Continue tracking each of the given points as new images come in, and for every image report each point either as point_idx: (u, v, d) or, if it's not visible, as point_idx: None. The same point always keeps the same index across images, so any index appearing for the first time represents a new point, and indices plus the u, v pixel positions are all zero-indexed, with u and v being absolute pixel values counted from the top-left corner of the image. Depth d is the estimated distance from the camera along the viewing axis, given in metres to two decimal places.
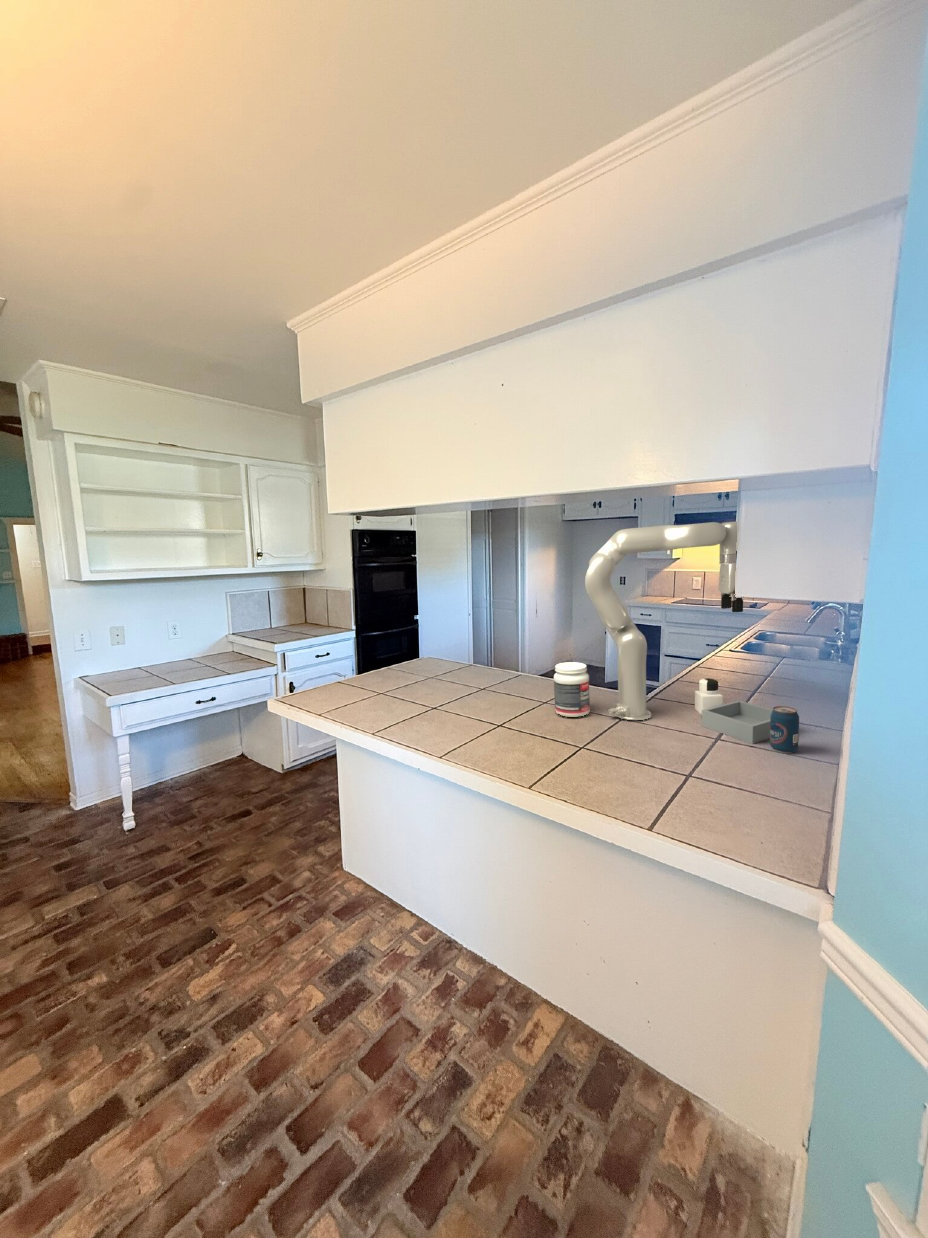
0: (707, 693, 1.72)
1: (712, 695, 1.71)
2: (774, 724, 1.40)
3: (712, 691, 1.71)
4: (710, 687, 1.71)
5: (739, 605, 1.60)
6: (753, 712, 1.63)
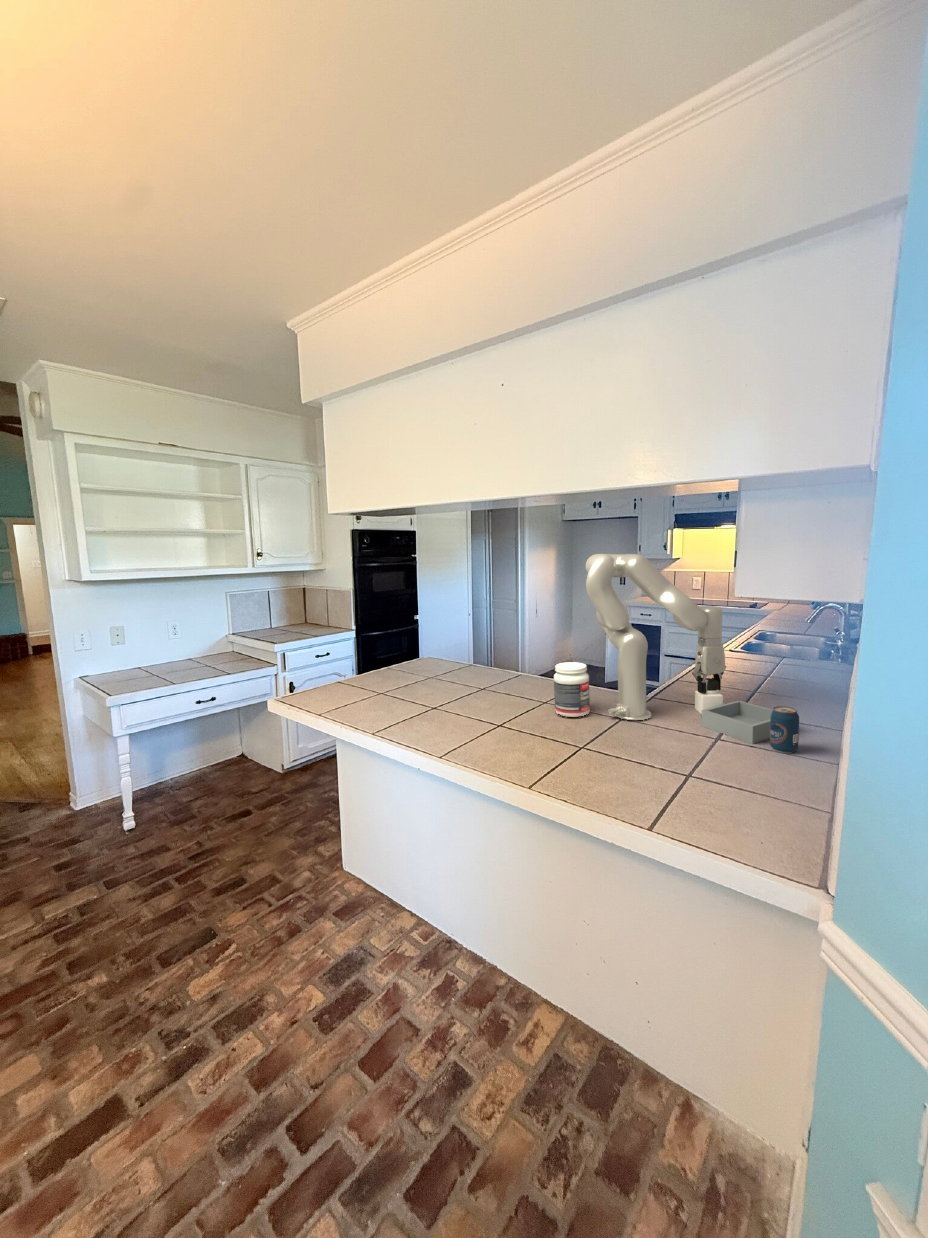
0: (707, 693, 1.72)
1: (712, 695, 1.71)
2: (774, 724, 1.40)
3: (712, 691, 1.71)
4: (711, 687, 1.71)
5: None
6: (753, 712, 1.63)
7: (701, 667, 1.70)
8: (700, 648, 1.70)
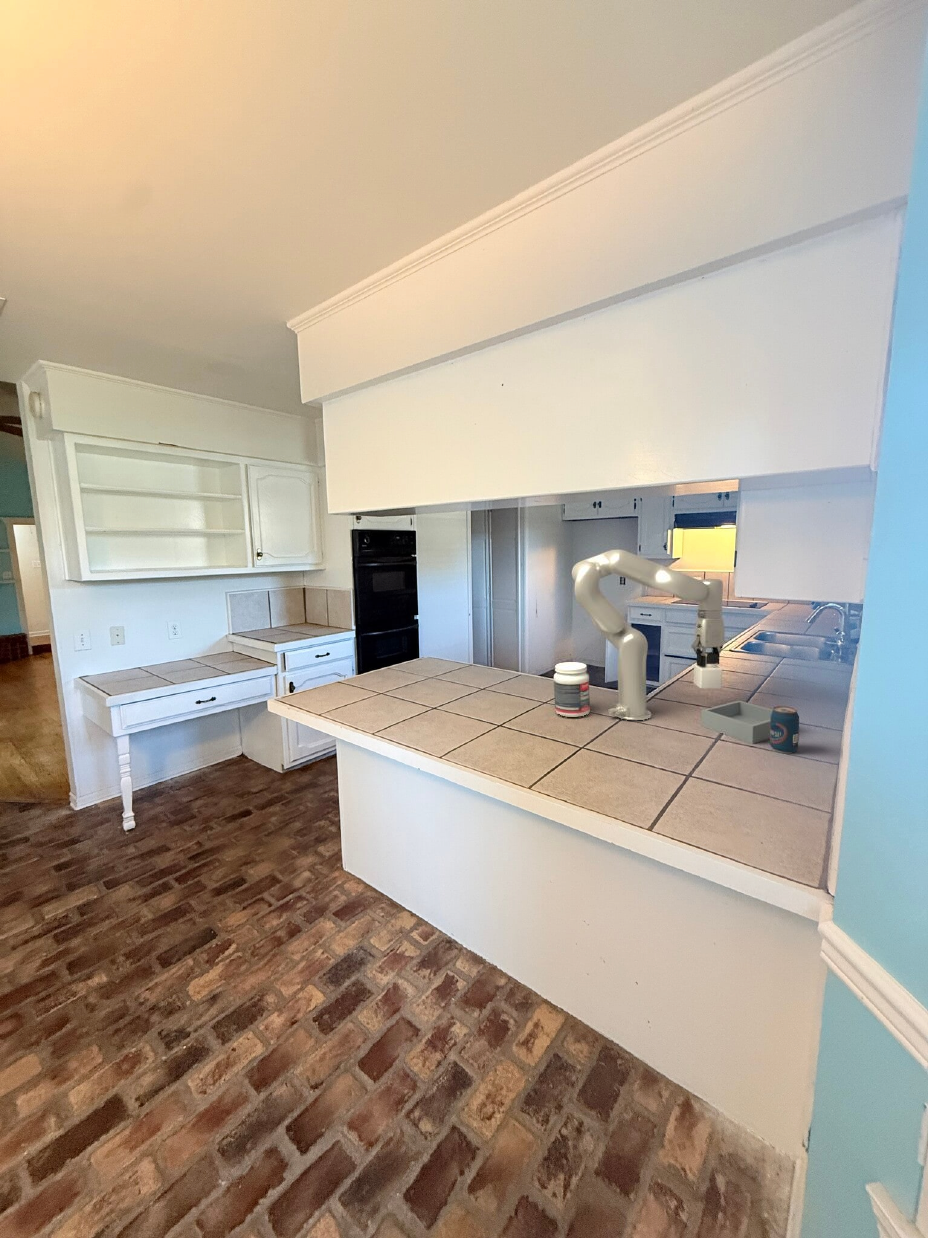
0: (706, 666, 1.71)
1: (711, 668, 1.70)
2: (774, 724, 1.40)
3: (711, 664, 1.70)
4: (710, 660, 1.70)
5: None
6: (753, 712, 1.63)
7: (700, 640, 1.69)
8: (700, 620, 1.69)
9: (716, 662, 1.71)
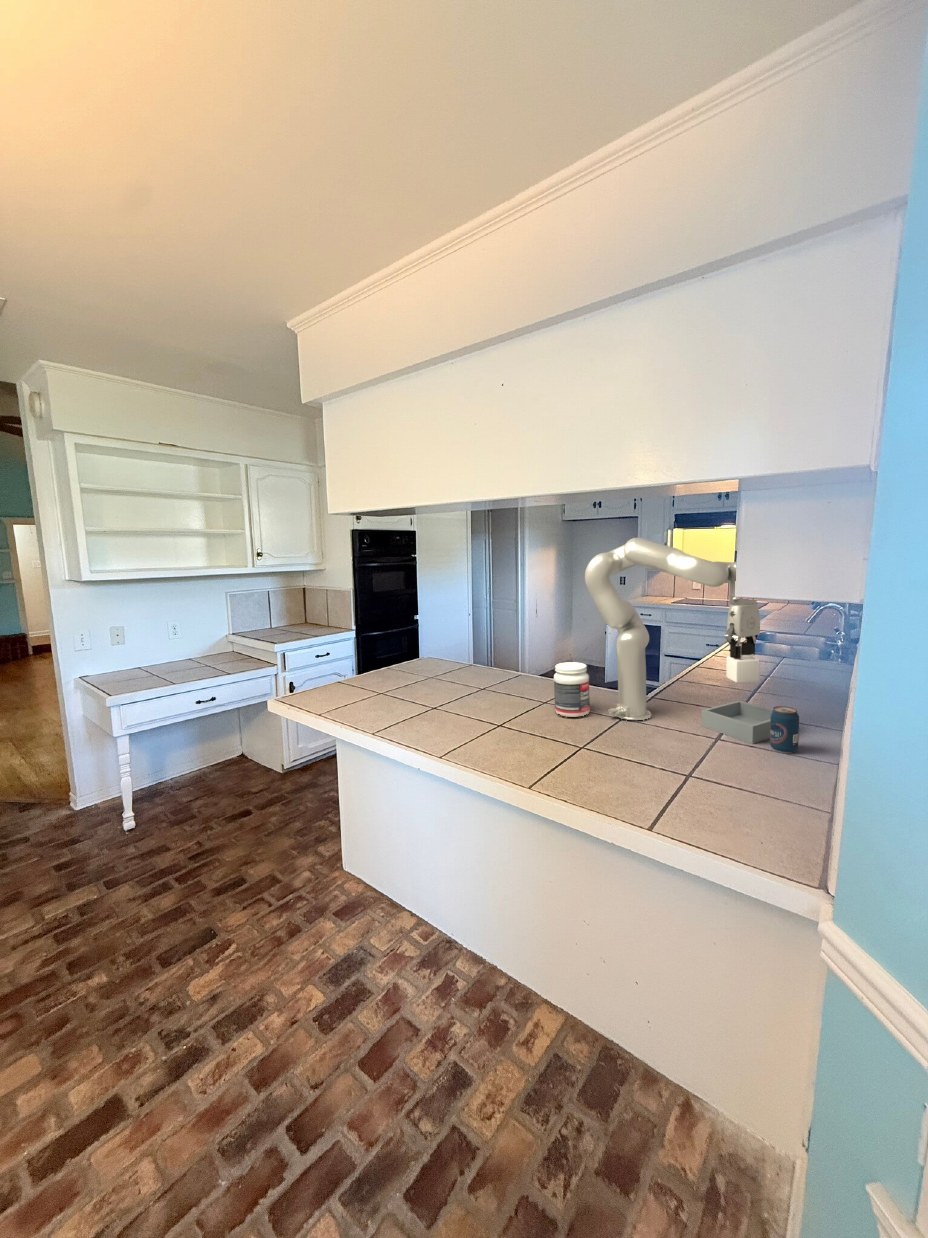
0: (742, 658, 1.55)
1: (747, 660, 1.54)
2: (774, 724, 1.40)
3: (747, 655, 1.54)
4: (745, 650, 1.54)
5: None
6: (753, 712, 1.63)
7: (734, 629, 1.53)
8: (733, 607, 1.53)
9: (752, 653, 1.54)
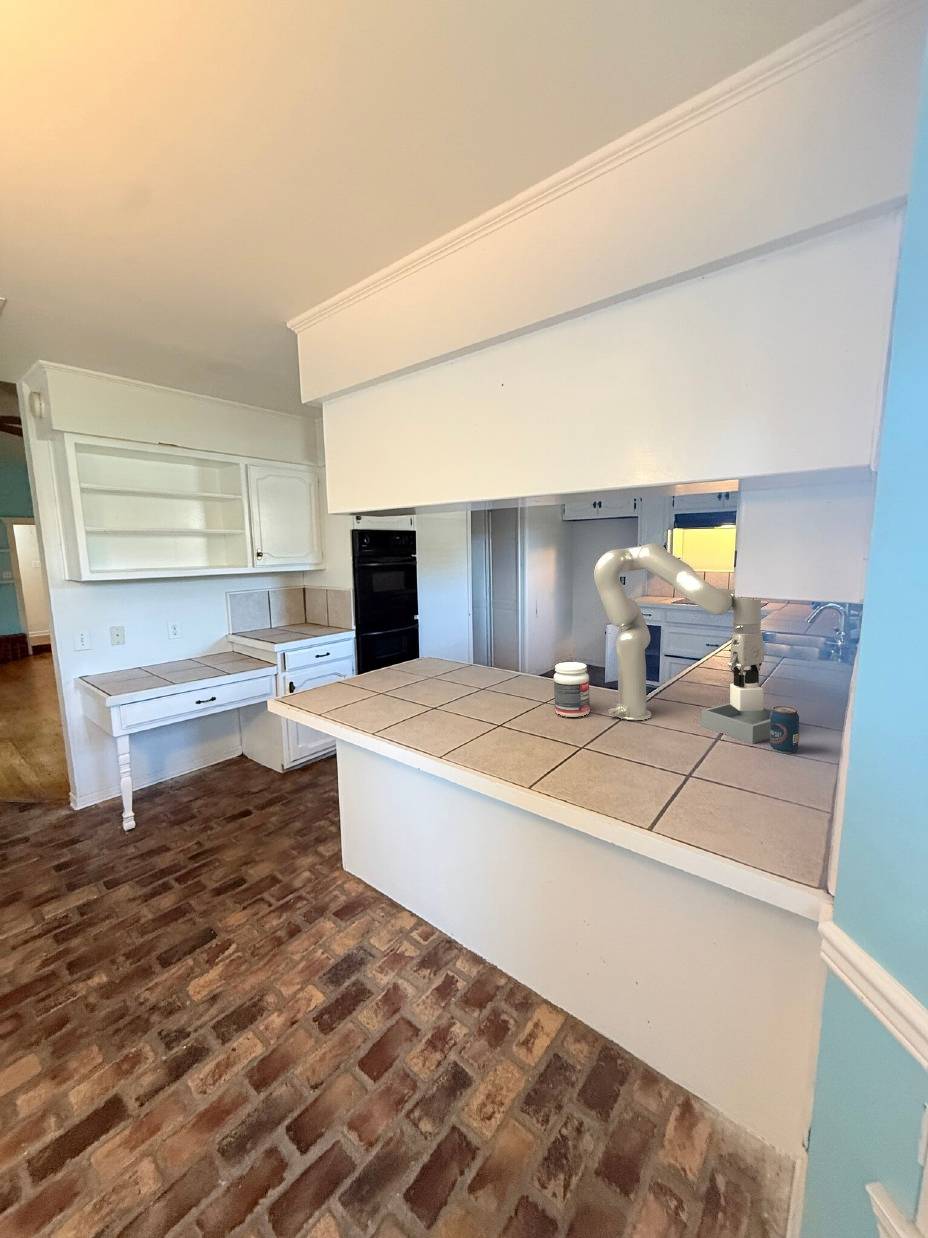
0: (745, 686, 1.54)
1: (751, 688, 1.53)
2: (774, 724, 1.40)
3: (750, 684, 1.53)
4: (749, 679, 1.53)
5: None
6: (753, 712, 1.63)
7: (738, 657, 1.52)
8: (736, 636, 1.52)
9: (756, 681, 1.54)
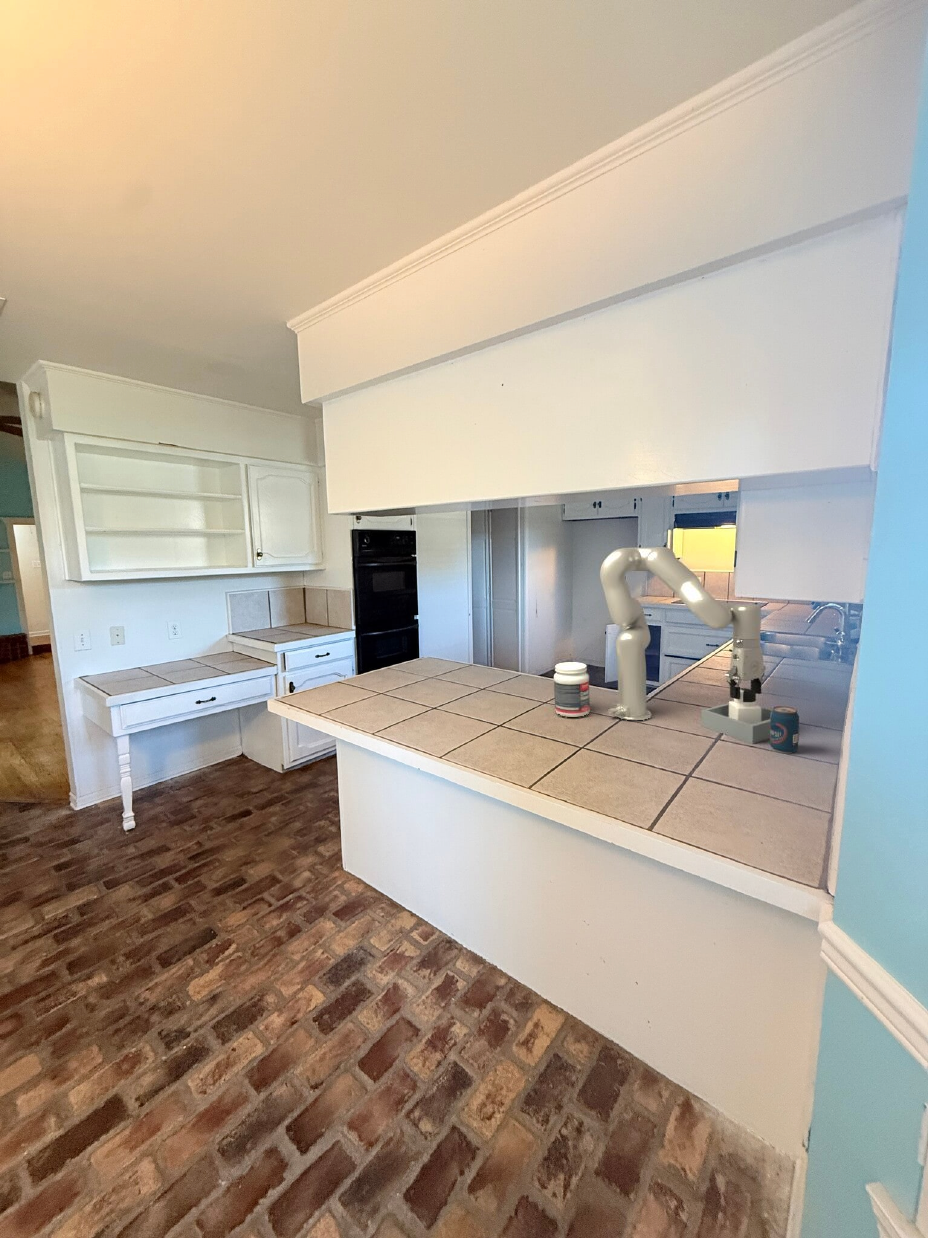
0: (743, 705, 1.55)
1: (749, 707, 1.54)
2: (774, 724, 1.40)
3: (748, 703, 1.54)
4: (747, 698, 1.54)
5: None
6: None
7: (737, 672, 1.53)
8: (736, 650, 1.53)
9: (754, 700, 1.55)
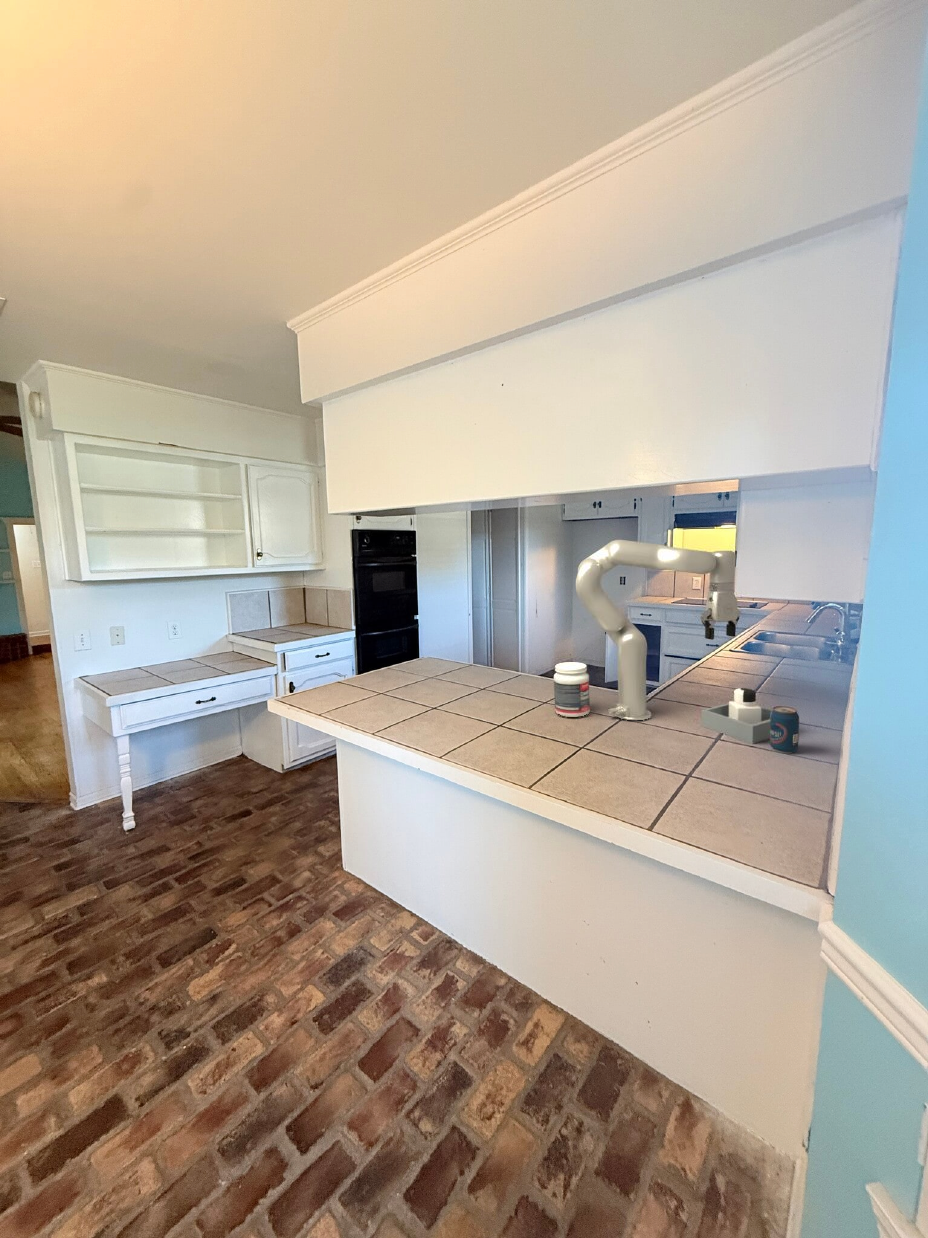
0: (743, 705, 1.55)
1: (749, 707, 1.54)
2: (774, 724, 1.40)
3: (748, 703, 1.54)
4: (747, 698, 1.54)
5: None
6: None
7: (712, 613, 1.64)
8: (711, 594, 1.64)
9: (754, 700, 1.55)
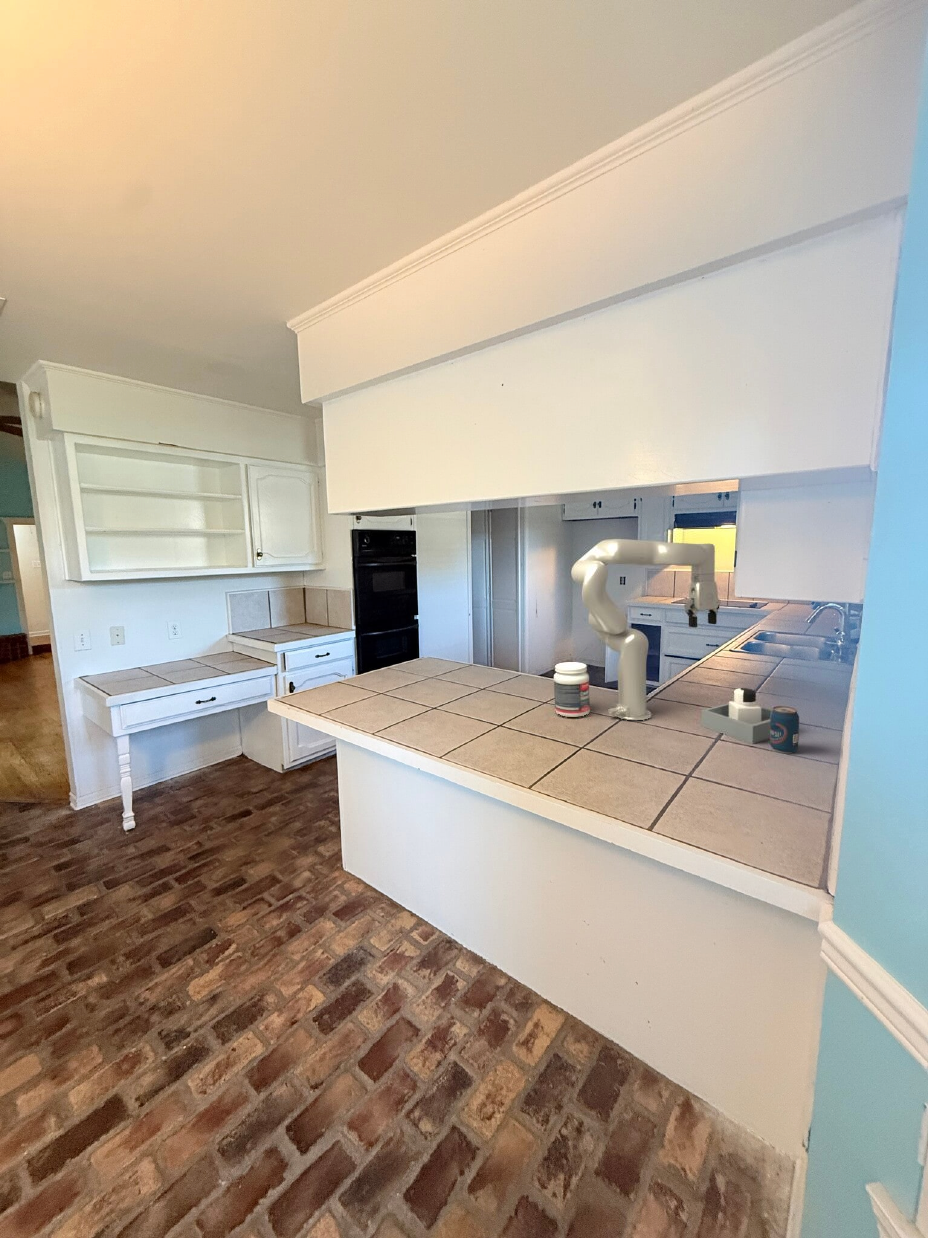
0: (743, 705, 1.55)
1: (749, 707, 1.54)
2: (774, 724, 1.40)
3: (748, 703, 1.54)
4: (747, 698, 1.54)
5: None
6: None
7: (694, 603, 1.74)
8: (693, 584, 1.74)
9: (754, 700, 1.55)
